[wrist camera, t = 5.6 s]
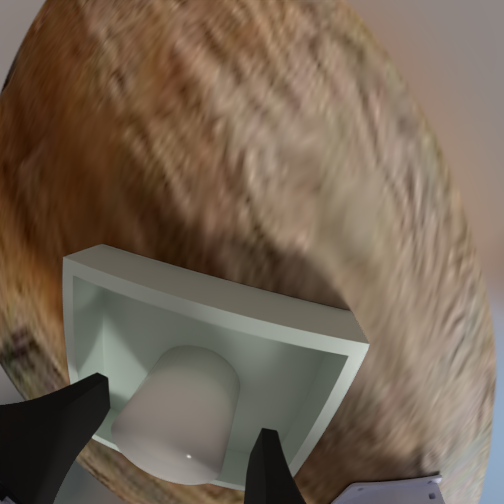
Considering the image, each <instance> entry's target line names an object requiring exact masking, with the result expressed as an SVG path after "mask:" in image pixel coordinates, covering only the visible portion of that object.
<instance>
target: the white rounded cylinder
mask: <svg viewBox="0 0 504 504" xmlns="http://www.w3.org/2000/svg"><path fill="white" fill-rule="evenodd" d="M239 394H240V381H239V377H238V375H237V373H236V371H235V370H234V368H233V367H232V366H231V365H230V364H229V363H228V362H227V361H226V360H225V359H224V358H223V357H221V356H220V355H218V354H217V353H215V352H213V351H211V350H208V349H206V348H202V347H199V346H192V345H183V346H177V347H173V348H171V349H169V350H167V351H166V352H164V353H163V354H162V355H161V356H160V358H159V359H158V360H157V362H156V363H155V365H154V366H153V367H152V369H151V370H150V372H149V373H148V374H147V376H146V377H145V378H144V380H143V381H142V383H141V384H140V385H139V387H138V388H137V390H136V391H135V392H134V394H133V395H132V397H131V398H130V399H129V401H128V402H127V404H126V405H125V406H124V408H123V409H122V411H121V412H120V413H119V415H118V416H117V418H116V419H115V420H114V422H113V424H112V427H111V434H112V438H113V440H114V442H115V444H116V446H117V447H118V449H119V450H120V451H121V452H122V454H123V455H124V456H125V457H126V458H127V459H129V460H130V461H131V462H132V463H133V464H135V465H136V466H137V467H139V468H141V469H142V470H144V471H146V472H147V473H149V474H151V475H153V476H156V477H158V478H161V479H163V480H166V481H170V482H174V483H179V484H186V485H199V484H205V483H208V482H211V481H213V480H215V479H216V478H217V477H218V476H219V475H220V473H221V470H222V466H223V462H224V458H225V454H226V450H227V446H228V441H229V437H230V433H231V429H232V424H233V420H234V416H235V411H236V407H237V403H238V398H239Z"/></svg>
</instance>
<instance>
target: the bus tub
mask: <svg viewBox="0 0 504 504" xmlns="http://www.w3.org/2000/svg"><path fill="white" fill-rule="evenodd" d="M63 318H64V333H65V344H66V354H67V362H68V369H69V376H70V383H71V384H73V383H75V382H77V381H80V380H82V379H84V378H86V377H88V376H90V375H92V374H94V373H96V372H98V373H100V374H102V375H104V376H106V377H108V379H109V395H110V407H111V408H110V410H109V412H108V414H107V416H106V417H105V419H104V421H103V423H102V424H101V426H100V427H99V428H98V430H97V431H96V432H95V434H94V435H93V436H92V438H93V439H95V440H97V441H99V442H101V443H103V444H105V445H107V446H109V447H111V448H113V449H115V450H117V451H119V452H121V451H120V450H119V449H118V447H117V446H116V444H115V442H114V440H113V438H112V434H111V427H112V424H113V422H114V420H115V419H116V418H117V416H118V415H119V413H120V412H121V411H122V409H123V408H124V406H125V405H126V404H127V402H128V401H129V399H130V398H131V397H132V395H133V394H134V392H135V391H136V390H137V388H138V387H139V385H140V384H141V383H142V381H143V380H144V378H145V377H146V376H147V374H148V373H149V372H150V370H151V369H152V367H153V366H154V365H155V363H156V362H157V360H158V359H159V358H160V356H161V355H162V354H163V353H164V352H166V351H167V350H169V349H171V348H173V347H177V346H183V345H192V346H199V347H202V348H206V349H208V350H211V351H213V352H215V353H217V354H218V355H220V356H221V357H223V358H224V359H225V360H226V361H227V362H228V363H229V364H230V365H231V366H232V367H233V368H234V370H235V371H236V373H237V375H238V377H239V381H240V394H239V398H238V403H237V407H236V411H235V416H234V420H233V424H232V429H231V433H230V437H229V441H228V446H227V450H226V454H225V458H224V462H223V466H222V470H221V473H220V475H219V476H218V477H217V478H216V479H215V480H213V481H211V482H208V483H210V484H214V485H218V486H223V487H227V488H232V489H237V490H242V491H245V483H246V472H247V467H248V462H249V457H250V453H251V451H252V449H253V447H254V445H255V442H256V440H257V438H258V436H259V433H260V431H261V429H262V428H267V429H272V430H277V432H278V434H279V438H280V442H281V446H282V450H283V453H284V456H285V459H286V462H287V464H288V467H289V470H290V472H291V475H292V477H294V476H295V474H296V473H297V472H298V470H299V469H300V467H301V466H302V465H303V463H304V462H305V460H306V459H307V457H308V456H309V454H310V453H311V451H312V450H313V448H314V447H315V445H316V444H317V442H318V440H319V439H320V437H321V436H322V434H323V432H324V431H325V429H326V428H327V426H328V424H329V423H330V421H331V419H332V417H333V416H334V414H335V412H336V411H337V409H338V407H339V405H340V403H341V402H342V400H343V398H344V396H345V394H346V392H347V391H348V389H349V387H350V385H351V383H352V381H353V379H354V377H355V375H356V373H357V371H358V369H359V367H360V365H361V363H362V361H363V359H364V357H365V354H366V352H367V350H368V348H369V346H370V343H369V341H368V340H367V338H366V336H365V334H364V332H363V330H362V329H361V327H360V325H359V323H358V321H357V320H356V318H355V316H354V314H353V313H352V311H348V310H343V309H339V308H335V307H331V306H326V305H322V304H318V303H314V302H310V301H306V300H302V299H298V298H294V297H290V296H286V295H282V294H278V293H274V292H270V291H266V290H262V289H258V288H254V287H251V286H247V285H243V284H239V283H235V282H232V281H228V280H224V279H221V278H217V277H213V276H210V275H206V274H203V273H199V272H195V271H192V270H188V269H185V268H181V267H178V266H174V265H171V264H168V263H164V262H161V261H157V260H154V259H151V258H147V257H144V256H141V255H137V254H134V253H131V252H127V251H124V250H121V249H118V248H114V247H111V246H108V245H105V244H100V245H97V246H94V247H91V248H88V249H85V250H82V251H79V252H76V253H73V254H70V255H67V256H65V257H63ZM121 453H122V452H121Z"/></svg>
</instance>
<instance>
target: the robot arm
mask: <svg viewBox="0 0 504 504" xmlns="http://www.w3.org/2000/svg"><path fill="white" fill-rule="evenodd" d="M110 408H111V407H110V395H109V379H108V377H106V376H104V375H102V374H100V373H98V372H96V373H94V374H92V375H90V376H88V377H86V378H84V379H82V380H80V381H77V382H75V383H73V384H71V385H69V386H67V387H64V388H62V389H60V390H58V391H55V392H53V393H50V394H47V395H45V396H42V397H39V398H36V399H32V400H28V401H24V402H19V403H13V404H6V405H0V504H53V502H54V500H55V497H56V495H57V493H58V491H59V488H60V486H61V484H62V482H63V480H64V478H65V476H66V474H67V472H68V471H69V469H70V467H71V465H72V464H73V462H74V460H75V459H76V457H77V456H78V454H79V453H80V452H81V450H82V449H83V448H84V447H85V445H86V444H87V443H88V441H89V440H90V439H91V438H92V436H93V435H94V434H95V432H96V431H97V430H98V428H99V427H100V426H101V424H102V423H103V421H104V419H105V417H106V416H107V414H108V412H109V410H110ZM441 480H442V475H436V476H430V477H424V478H416V479H408V480H399V481H387V482H369V483H353V484H351V485H349V486H348V487H347V488H346V489H345V490H344V491H343V492H342V493H341V494H340V495H339V496H338V497H337V498H336V499H335V500H334V501H333V502H332V503H331V504H445V502H444V500H443V497H442V494H441V492H440V489H439V487H438V483H439V482H440V481H441ZM244 504H306V502H305V500H304V499H303V497H302V495H301V493H300V492H299V490H298V488H297V486H296V483H295V481H294V479H293V477H292V475H291V472H290V470H289V467H288V464H287V462H286V459H285V456H284V453H283V450H282V446H281V442H280V438H279V434H278V432H277V430H272V429H267V428H262V429H261V431H260V433H259V436H258V438H257V440H256V442H255V445H254V447H253V449H252V451H251V453H250V457H249V462H248V467H247V472H246V483H245V497H244Z"/></svg>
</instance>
